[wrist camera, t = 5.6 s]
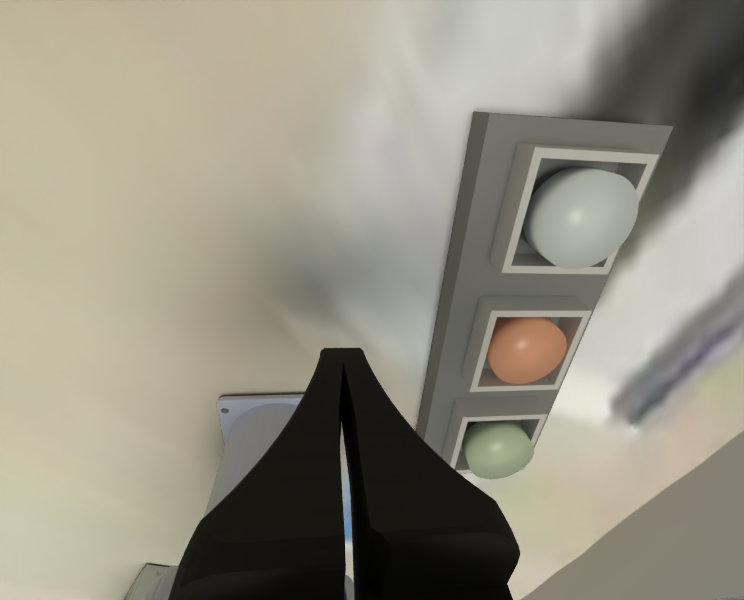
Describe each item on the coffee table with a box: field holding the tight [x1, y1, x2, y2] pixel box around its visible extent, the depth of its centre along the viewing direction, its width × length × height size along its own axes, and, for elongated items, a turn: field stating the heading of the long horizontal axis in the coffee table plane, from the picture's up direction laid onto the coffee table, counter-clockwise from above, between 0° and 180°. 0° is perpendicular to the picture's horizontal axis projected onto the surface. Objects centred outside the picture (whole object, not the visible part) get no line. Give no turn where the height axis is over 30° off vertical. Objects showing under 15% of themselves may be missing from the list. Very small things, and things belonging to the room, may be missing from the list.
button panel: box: [416, 112, 674, 474], centre depth 22 cm, size 24×9×4 cm, turn 176°
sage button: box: [461, 420, 534, 479], centre depth 24 cm, size 4×4×2 cm
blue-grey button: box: [523, 166, 638, 269], centre depth 16 cm, size 4×4×2 cm
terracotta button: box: [486, 317, 567, 384], centre depth 21 cm, size 4×4×2 cm
